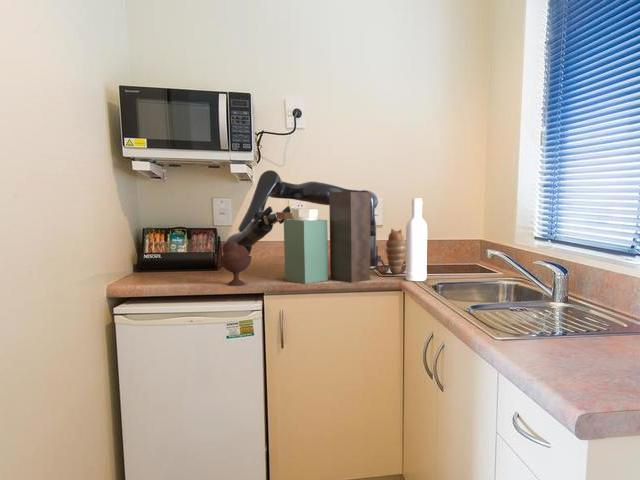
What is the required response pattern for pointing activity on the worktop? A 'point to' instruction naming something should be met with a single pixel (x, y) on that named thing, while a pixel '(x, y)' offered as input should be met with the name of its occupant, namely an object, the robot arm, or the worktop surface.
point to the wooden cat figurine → (395, 250)
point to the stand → (349, 236)
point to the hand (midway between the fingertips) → (280, 208)
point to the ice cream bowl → (235, 260)
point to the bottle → (416, 244)
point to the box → (306, 250)
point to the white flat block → (299, 214)
